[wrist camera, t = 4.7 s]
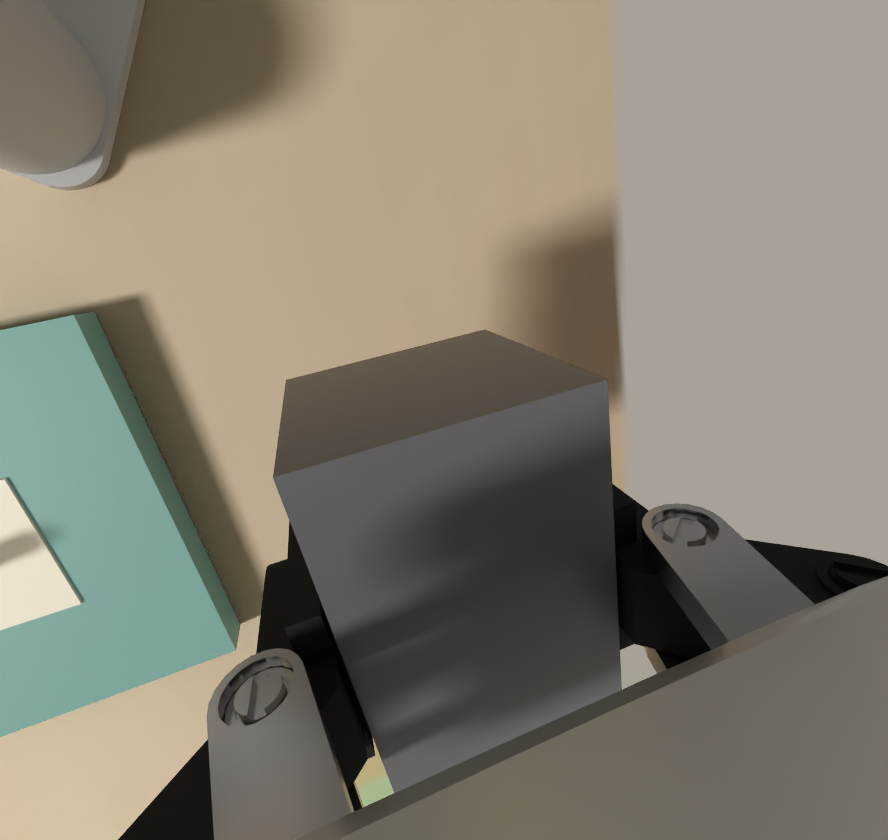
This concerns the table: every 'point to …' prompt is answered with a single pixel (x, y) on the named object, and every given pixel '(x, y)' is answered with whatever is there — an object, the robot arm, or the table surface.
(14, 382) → the board
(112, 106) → the phone holder
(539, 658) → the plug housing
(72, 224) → the table surface
